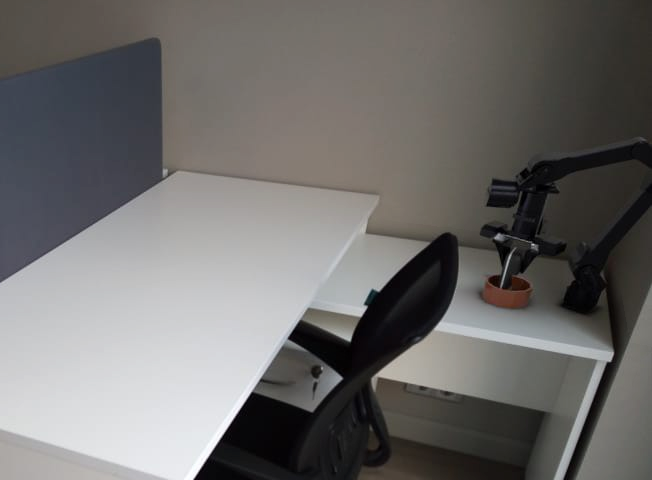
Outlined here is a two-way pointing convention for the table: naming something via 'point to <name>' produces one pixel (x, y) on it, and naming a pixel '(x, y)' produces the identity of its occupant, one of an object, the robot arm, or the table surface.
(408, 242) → the table surface
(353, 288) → the table surface
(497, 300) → the bowl
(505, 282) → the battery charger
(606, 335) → the table surface
